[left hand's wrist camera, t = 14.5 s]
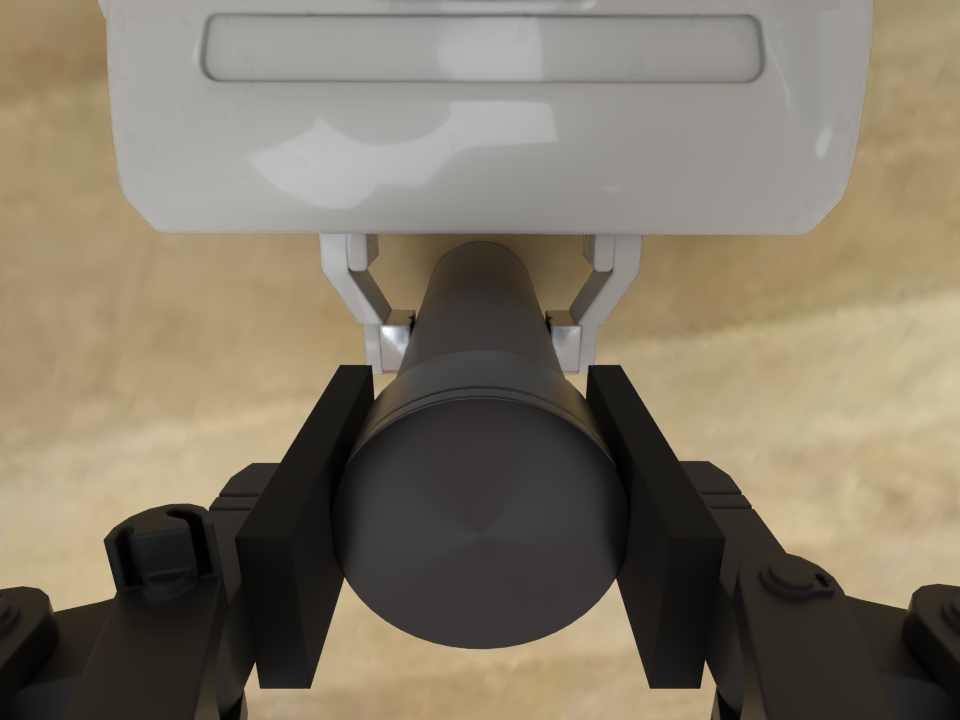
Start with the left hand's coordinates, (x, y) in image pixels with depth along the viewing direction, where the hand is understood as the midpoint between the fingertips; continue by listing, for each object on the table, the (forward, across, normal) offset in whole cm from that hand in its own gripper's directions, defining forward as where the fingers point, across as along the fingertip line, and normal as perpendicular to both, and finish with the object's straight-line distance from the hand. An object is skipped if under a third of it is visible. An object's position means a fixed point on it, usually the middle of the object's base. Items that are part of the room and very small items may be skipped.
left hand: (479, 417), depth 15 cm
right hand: (+6, 0, -1) cm, 6 cm away
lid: (-4, 0, 0) cm, 4 cm away
